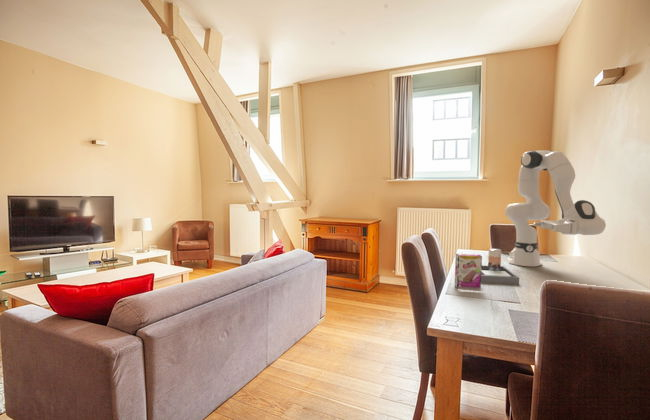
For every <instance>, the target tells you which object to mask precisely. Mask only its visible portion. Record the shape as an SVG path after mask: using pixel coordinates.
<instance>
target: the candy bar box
mask: <svg viewBox="0 0 650 420" xmlns="http://www.w3.org/2000/svg"><path fill="white" fill-rule="evenodd" d="M482 259H483V256H482V255H480V254H479V253H455V261H454V262H455V266H454V267H455V268H454V287H456V289H459V288H481V287H482V286H481V285H482V283H481V266H482V263H483V260H482Z"/></svg>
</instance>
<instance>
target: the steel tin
mask: <svg viewBox="0 0 650 420" xmlns="http://www.w3.org/2000/svg"><path fill="white" fill-rule="evenodd" d="M487 257H488V259H487V263H488V264H487V266H488V271H500V268H501V266H502V265H501V264H502V263H501V262H502V249H500V248H488V255H487Z"/></svg>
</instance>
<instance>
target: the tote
mask: <svg viewBox="0 0 650 420" xmlns="http://www.w3.org/2000/svg"><path fill="white" fill-rule="evenodd" d="M481 270H487V271H488V265H482V266H481ZM500 271H505V272H506V273H508V274H509V275H510V276H511V277H508V276H487V275H481V284H499V285H500V284H501V285H518V286H519V285H520V277H519V276H518V275H516V273H513V271H511V270H510V269H508V268H507V267H506V266H504V265H501V268H500Z"/></svg>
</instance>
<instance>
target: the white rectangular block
mask: <svg viewBox="0 0 650 420" xmlns="http://www.w3.org/2000/svg"><path fill="white" fill-rule="evenodd" d="M481 275H487V276H508V277H511V276H510V275H509V274H508V273H506V272H505V271H487V270H481Z"/></svg>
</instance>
